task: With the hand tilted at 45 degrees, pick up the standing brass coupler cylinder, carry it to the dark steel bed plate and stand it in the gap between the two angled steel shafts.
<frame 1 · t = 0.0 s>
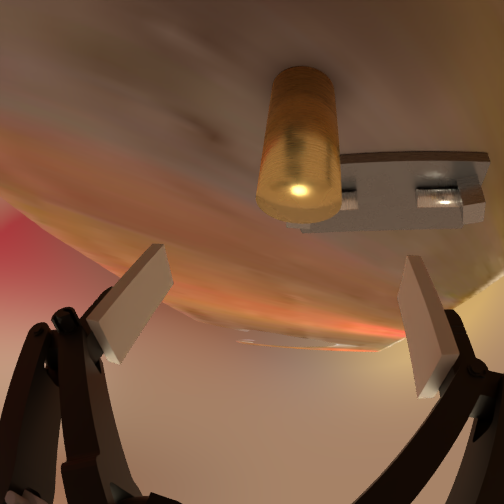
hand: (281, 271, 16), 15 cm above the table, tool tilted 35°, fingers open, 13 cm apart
bed plate: (385, 192, 32), on the table
coupler: (303, 90, 22), on the table
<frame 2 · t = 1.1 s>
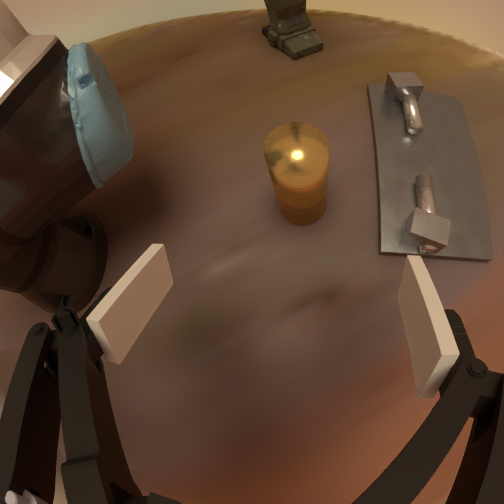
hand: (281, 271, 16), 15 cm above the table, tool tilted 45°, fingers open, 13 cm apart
bed plate: (429, 164, 30), on the table
coupler: (302, 203, 32), on the table
mechanical leg: (294, 43, 39), on the table
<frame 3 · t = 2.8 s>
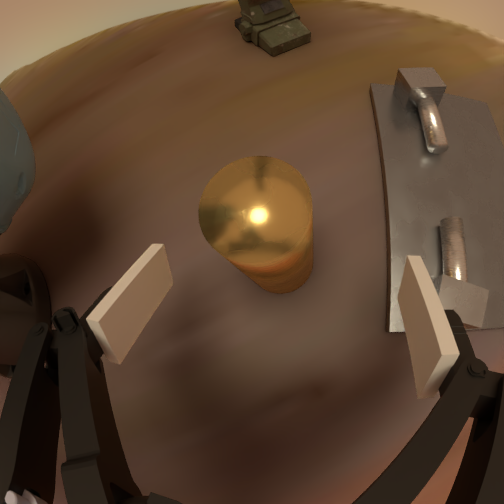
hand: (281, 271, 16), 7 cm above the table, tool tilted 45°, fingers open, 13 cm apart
bed plate: (455, 195, 22), on the table
coupler: (280, 261, 23), on the table
mechanical leg: (274, 36, 31), on the table
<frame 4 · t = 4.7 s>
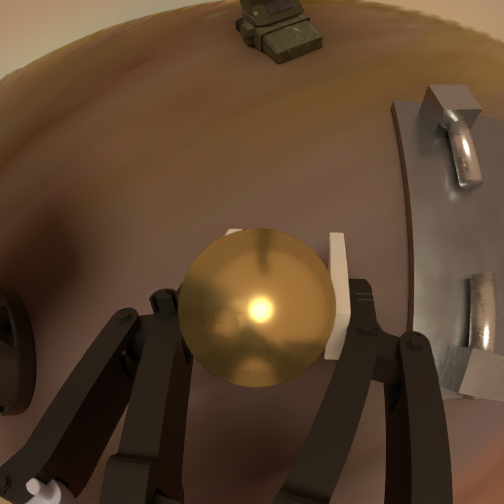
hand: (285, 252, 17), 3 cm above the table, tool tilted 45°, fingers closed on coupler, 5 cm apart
bed plate: (485, 238, 18), on the table
coupler: (285, 319, 20), on the table, touching gripper
mechanical leg: (279, 39, 27), on the table
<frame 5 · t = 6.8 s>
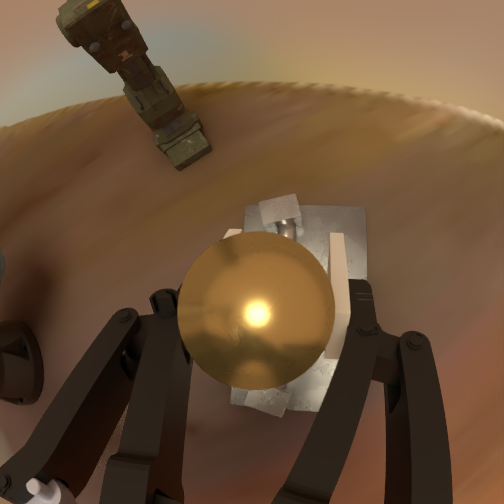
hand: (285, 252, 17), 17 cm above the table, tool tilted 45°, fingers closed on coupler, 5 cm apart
bed plate: (302, 307, 33), on the table
coupler: (285, 321, 20), point 14 cm above the table, touching gripper
mechanical leg: (184, 142, 42), on the table
when the fingers open (6 cm above the table, at t = 9.2 s): coupler drops 1 cm, resting on bed plate.
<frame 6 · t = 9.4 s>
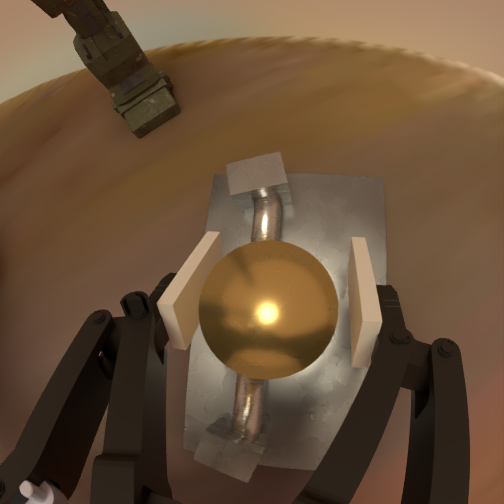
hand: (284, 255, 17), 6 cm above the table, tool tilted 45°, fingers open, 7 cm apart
bed plate: (288, 321, 22), on the table
coupler: (285, 322, 21), point 1 cm above the table, touching bed plate
mechanical leg: (150, 106, 31), on the table
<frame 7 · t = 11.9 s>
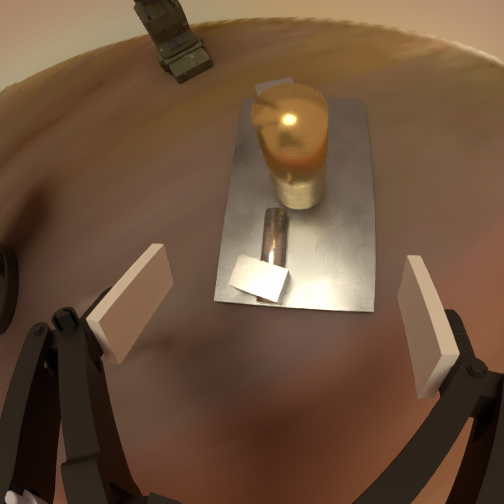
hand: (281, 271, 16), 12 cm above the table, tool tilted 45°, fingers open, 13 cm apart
bed plate: (301, 189, 29), on the table
coupler: (299, 185, 28), point 1 cm above the table, touching bed plate
mechanical leg: (187, 63, 38), on the table
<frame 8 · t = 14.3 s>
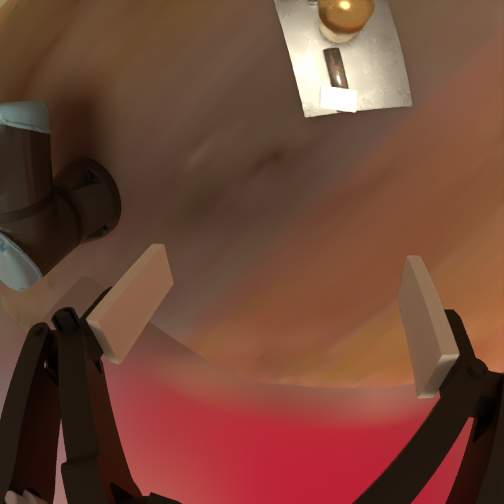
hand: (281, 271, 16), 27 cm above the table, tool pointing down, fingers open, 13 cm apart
bed plate: (339, 26, 28), on the table
coupler: (339, 25, 27), point 1 cm above the table, touching bed plate
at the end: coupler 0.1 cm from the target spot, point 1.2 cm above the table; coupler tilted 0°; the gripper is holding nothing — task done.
